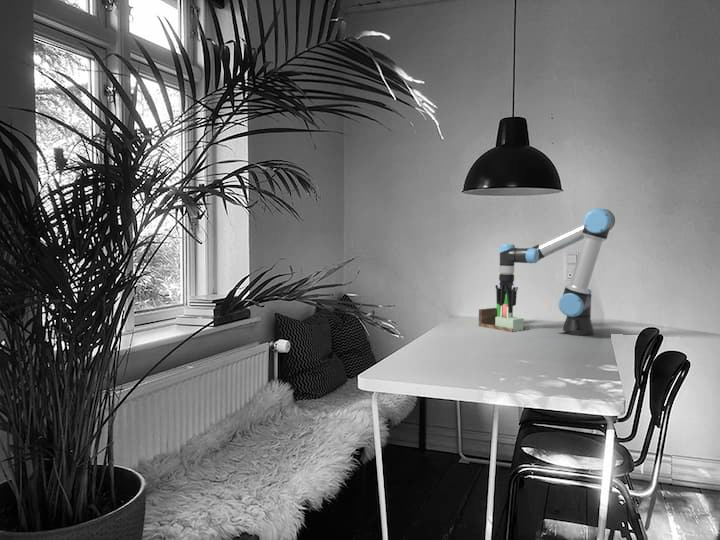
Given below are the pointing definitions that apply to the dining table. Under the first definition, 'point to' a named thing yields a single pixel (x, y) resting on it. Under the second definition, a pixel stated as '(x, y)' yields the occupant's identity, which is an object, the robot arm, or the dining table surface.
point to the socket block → (510, 323)
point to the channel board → (491, 319)
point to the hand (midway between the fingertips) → (505, 318)
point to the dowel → (505, 310)
